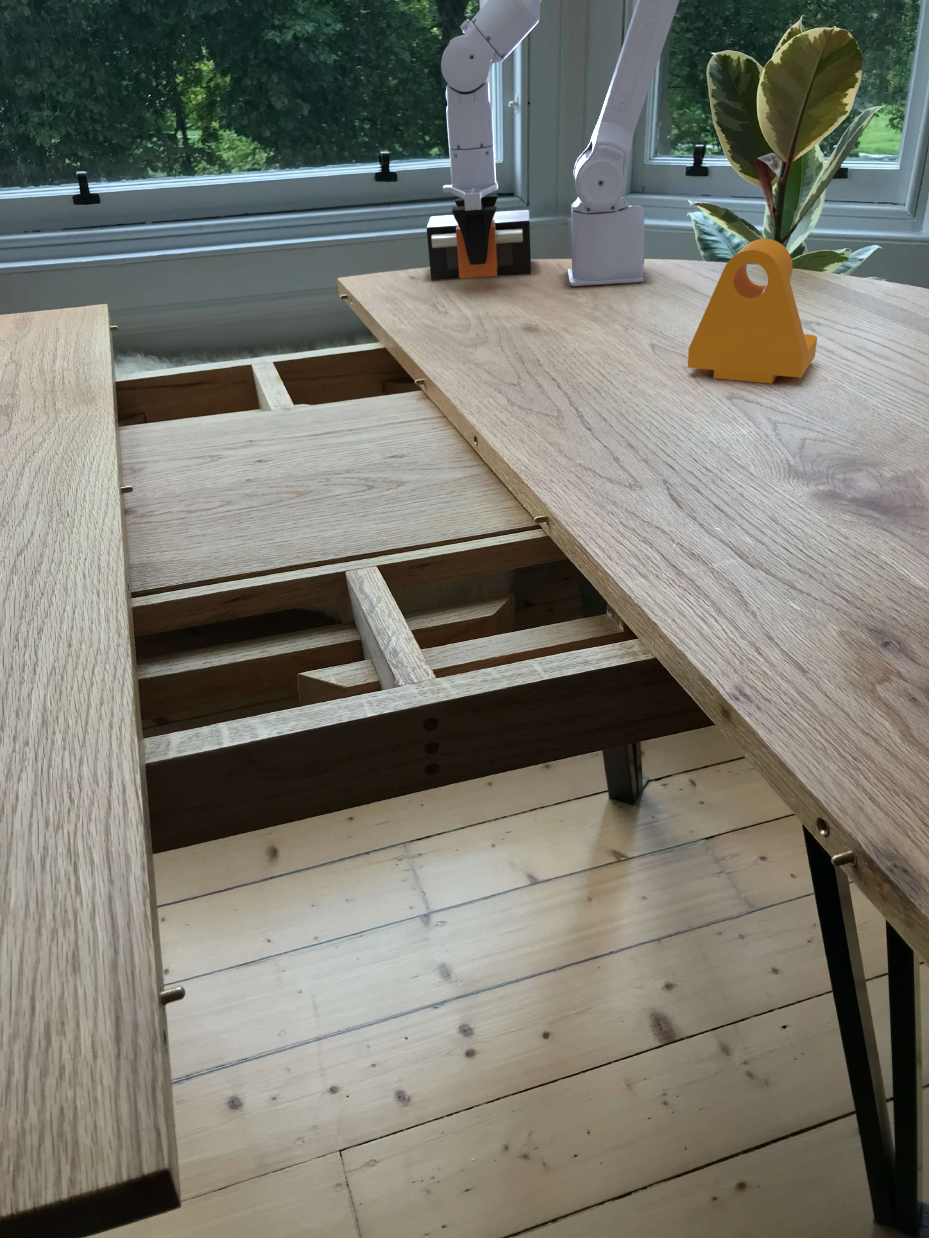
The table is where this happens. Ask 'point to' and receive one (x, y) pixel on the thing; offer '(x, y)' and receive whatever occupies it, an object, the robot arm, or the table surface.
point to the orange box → (477, 269)
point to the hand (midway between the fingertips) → (478, 258)
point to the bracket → (753, 321)
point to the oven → (508, 240)
